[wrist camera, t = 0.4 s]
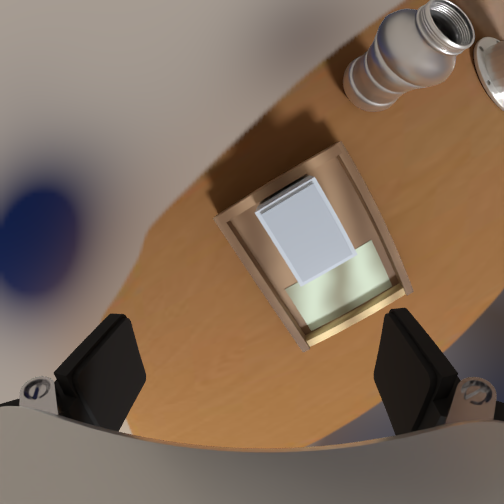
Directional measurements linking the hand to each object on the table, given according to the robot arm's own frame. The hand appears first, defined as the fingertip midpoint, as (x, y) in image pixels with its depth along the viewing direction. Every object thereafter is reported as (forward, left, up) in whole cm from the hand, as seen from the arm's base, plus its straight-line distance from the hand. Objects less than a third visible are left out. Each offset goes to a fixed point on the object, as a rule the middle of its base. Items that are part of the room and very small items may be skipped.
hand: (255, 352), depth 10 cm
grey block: (-3, +1, -24) cm, 24 cm away
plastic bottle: (-18, -8, -26) cm, 32 cm away
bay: (-3, +6, -25) cm, 26 cm away
